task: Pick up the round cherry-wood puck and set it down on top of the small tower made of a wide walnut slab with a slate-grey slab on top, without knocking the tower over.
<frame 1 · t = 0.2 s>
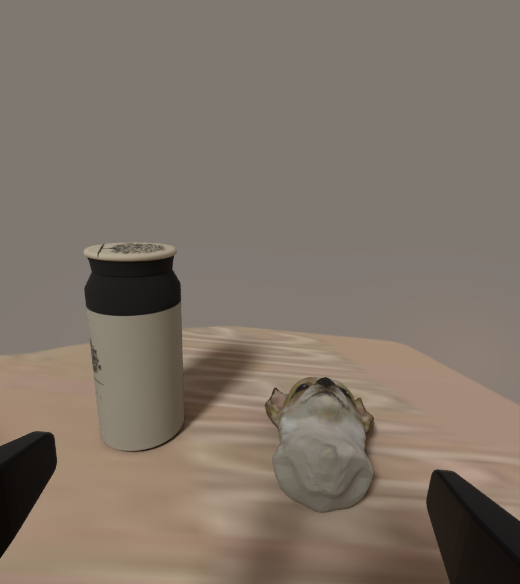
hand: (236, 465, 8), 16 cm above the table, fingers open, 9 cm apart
ceramic sculpture: (316, 461, 30), on the table
travel mug: (144, 426, 34), on the table
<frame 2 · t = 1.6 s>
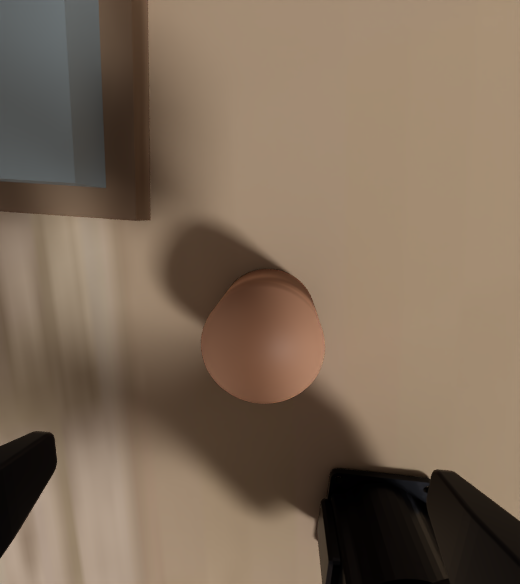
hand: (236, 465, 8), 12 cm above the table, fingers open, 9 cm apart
grey slab: (11, 84, 16), point 2 cm above the table
walnut slab: (47, 101, 18), on the table
cherry puck: (267, 314, 19), on the table
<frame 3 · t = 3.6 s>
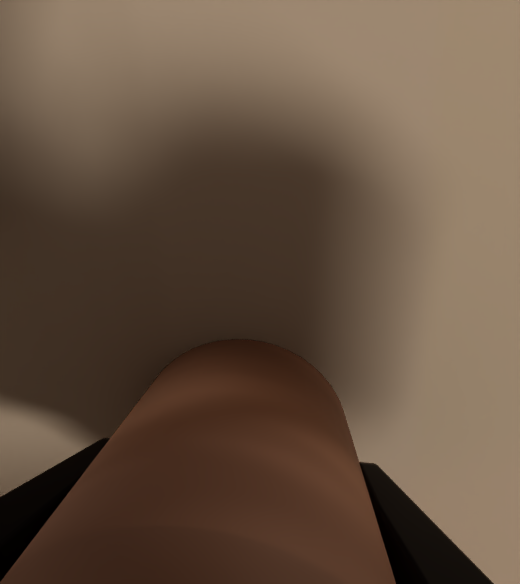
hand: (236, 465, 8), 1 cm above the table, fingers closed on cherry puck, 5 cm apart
cherry puck: (242, 436, 9), on the table, touching gripper
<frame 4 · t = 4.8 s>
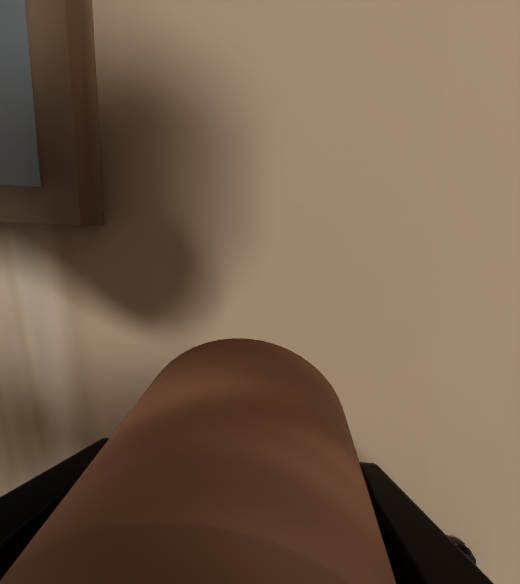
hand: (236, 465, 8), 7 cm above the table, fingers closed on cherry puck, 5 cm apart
cherry puck: (242, 435, 9), point 6 cm above the table, touching gripper
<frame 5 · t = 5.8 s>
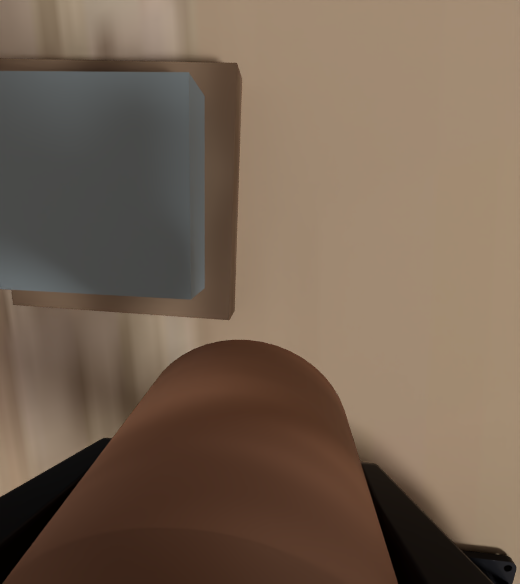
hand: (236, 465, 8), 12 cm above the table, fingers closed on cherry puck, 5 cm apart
grey slab: (115, 194, 16), point 2 cm above the table, touching walnut slab
walnut slab: (135, 199, 19), on the table, touching grey slab
cherry puck: (243, 436, 9), point 10 cm above the table, touching gripper
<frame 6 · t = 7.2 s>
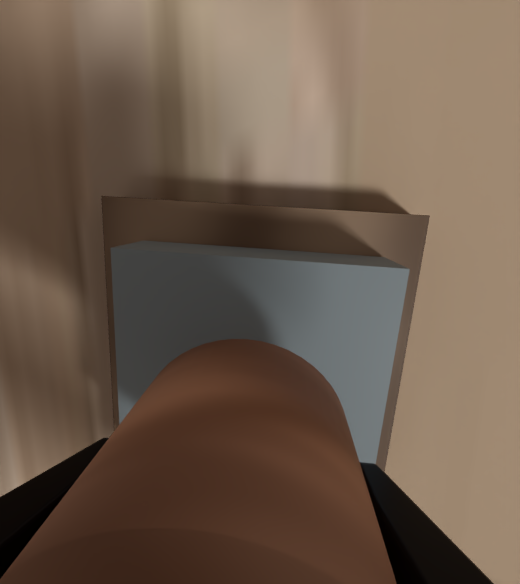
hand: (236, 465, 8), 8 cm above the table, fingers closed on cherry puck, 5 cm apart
grey slab: (254, 359, 13), point 2 cm above the table
walnut slab: (257, 335, 16), on the table
cherry puck: (241, 436, 9), point 7 cm above the table, touching gripper
when the fingers open (7 cm above the table, at t = 8.5 s): cherry puck drops 2 cm, resting on grey slab.
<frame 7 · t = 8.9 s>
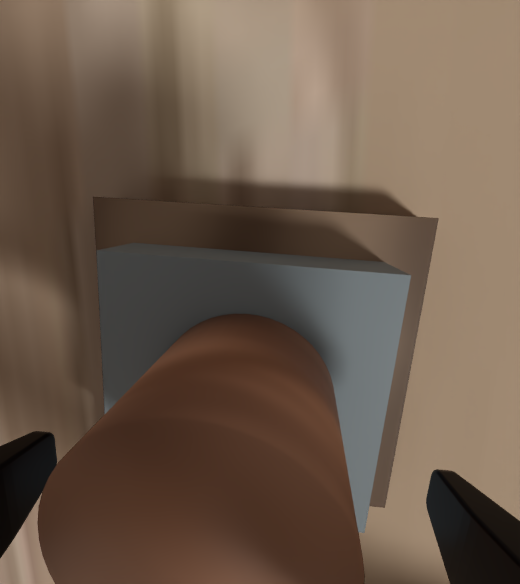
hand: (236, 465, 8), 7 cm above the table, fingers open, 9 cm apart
grey slab: (249, 367, 13), point 2 cm above the table, touching cherry puck, walnut slab
walnut slab: (256, 341, 15), on the table, touching grey slab
cherry puck: (244, 398, 10), point 4 cm above the table, touching grey slab
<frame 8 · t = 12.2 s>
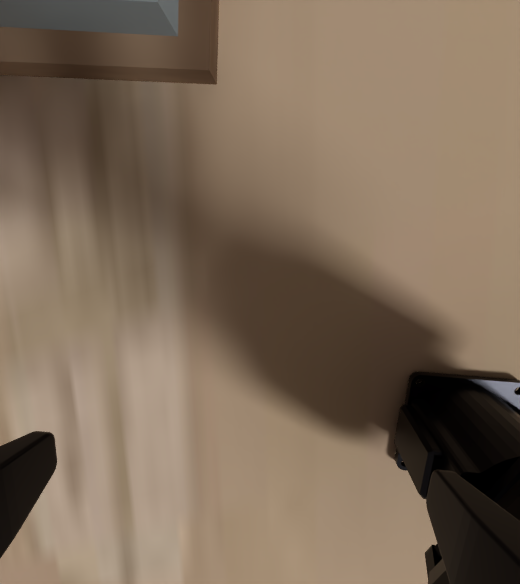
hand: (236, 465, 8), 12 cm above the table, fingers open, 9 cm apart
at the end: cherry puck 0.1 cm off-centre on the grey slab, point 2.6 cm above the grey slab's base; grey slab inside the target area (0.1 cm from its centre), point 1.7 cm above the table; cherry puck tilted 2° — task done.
